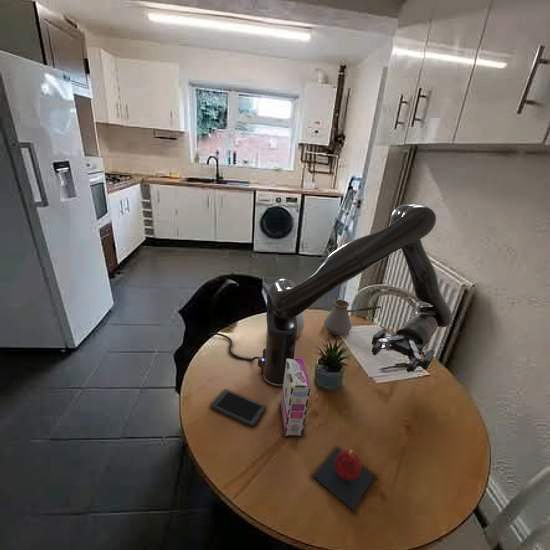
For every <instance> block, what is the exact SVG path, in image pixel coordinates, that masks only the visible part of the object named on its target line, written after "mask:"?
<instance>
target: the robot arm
mask: <svg viewBox="0 0 550 550" xmlns="http://www.w3.org/2000/svg"><path fill="white" fill-rule="evenodd" d="M436 222H437V215H436V213H435V211H434V210H433V209H432V208H430V207H428V206H425V205H423V204H415V203H414V204H413V203H406V204H405V203H403V204H401V205H399V206H397V207H396V208H395V209H394V210H393V212H392V213H391V216H390V224H389V225H388V226H387V227H385V228H383V229H381V230H378V231H376V232H373V233H370V234H366V235H364V236H360V237H358V238H356V239H353V240H351V241H349V242H347V243H345V244H343V245H342V246H340V247H339V248H337V249H336V250H334V251H333V252H331V253H329V254H328V256H326V258H325V259H324V261H322V263H321V264H320V266H318V267H317V269H316V270H315V271H314V272H313V273H312V275H310V276H309V277H307V279H305V280H303V281H302V282H300V283H298V284H296V283H294V281H292V280H290V279H286V278H281V279H278V280H276V281H274V282H273V283H272V284H271V285H270V287H269V288H268V293H267V300H266V338H265V339H266V340H265V348H263V349H262V356H253V357H252V358H251V357H250V358H247V357H242V356H239V355H237V354H235V353H233V351H232V346H233V340H232V339H231V338H230V337H229V336H228V335H225V334H223V333H220V332H211V333H209V334H207V336H208V337H211V336H220V337H223V338H225V339H227V340H228V341H229V347H228V353H229V354H230V355H231V356H232V357H234V358H236V359H239V360H242V361H249V362H253V361H255V360H257V367H258V368H260V369H261V372H260V374H261V375H262V377H263V380H264V382H266V383H267V384H268V385H270V386H272V387H283V383H284V375H285V367H286V359H295V354H296V346H297V345H296V344H297V338H298V336H297V329H298V325H297V319H296V316H297V315H299V314H300V313H302V312H303V313H304V312H305V311H306V310H308V309H309V308H310V307H311V306H312V305H314V304H315V303H316V302H317V301H319V300H320V299H322V298H324V297H325V296H326V295H328V294H329V293H331V292H332V291H335V289H337V288H339V287H340V286H342V285H343V284H345V283H347V282H349V281H350V280H353V279H354V278H355V277H357V276H359V275H360V274H362V273H364V272H365V271H366V270H368V269H369V268H371V267H373V266H374V265H376V264H378V263H380V262H381V261H382V260H384V259H385V258H387V257H389V256H390V255H392V254H394V253H395V252H397V251H399V250H401V251H402V255H403V256H404V259H405V262H406V265H407V268H408V272H409V276H410V278H411V279H410V280H411V283H412V288H413V292H414V295H415V298H416V300H418V301H419V302H422V304H418V305H416V306H415V308H414V313H413V317H412V318H411V319H409V320H407V321H406V322H405V323H404V324H402V326H401V327H400V328H399V329H398V330H396V332H394V333H393V334H390V333H387V329H385V328H382V329H380V330H379V331H377V332H376V333H375V334H373V336H372V340H371V345H372V347H371V353H372V355H373V356H377V355H378V354H379V353H380V352H381V351H382V350H386V351H387V352H388V351H394V352H397V353H399V354H401V355H403V356H405V357H407V358H408V360H409V363H408V364H407V366H406V371H405V372H407V373H410V372H412V373H413V372H415V371H416V369H418V368H420V367H421V369H423V370H424V371H425V370H428V369H429V367H430V364H431V363H432V361H433V358H434V355H435V350H434V349H429V350H426V349H424V348H425V347H426V346H427V345H428V344H429V342H430V340H431V339H432V337H433V336H434V334H435V333H436V332H437V330H438V328H447V327H448V326H450V325H451V324H452V321H453V313H452V310H451V308H450V305H449V304H448V302H447V301H446V299H445V298H444V295H443V293H442V292H441V289H440V284H439V278H438V274H437V272H436V270H435V267H434V265H433V263H432V261H431V260H430V257H429V256H428V254H427V252H426V251H425V248H424V245H423V242H422V239H423V238H425V237H427V236H428V235H429V234H430V233H431V232H432V231H433V229H434V227H435V226H436V224H437V223H436ZM421 355H422V356H423V358H422V357H421Z"/></svg>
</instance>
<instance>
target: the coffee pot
mask: <svg viewBox="0 0 550 550" xmlns="http://www.w3.org/2000/svg"><path fill="white" fill-rule="evenodd" d="M333 305H334V306H333V308H332V309H331V310H330V312H329V313H328V314H327V316H326V317H325V319H324V320H323V325H324V326H323V327H324V328H325V330H327V332H329V333H330V334H331V335H334V336H344V335H346V334H348V333H349V332H350V331H351V330H352V322H351V319H350V315H349V313H354V312H365V311H371V310H376V309H379V310H380V312H382V306H380V305H377V306H375V305H374V306H367V307H360V308H355V309H348V308H349V307H350V303H349V302H348V301H346V300H344V299H335V300H333Z"/></svg>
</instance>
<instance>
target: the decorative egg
mask: <svg viewBox="0 0 550 550" xmlns="http://www.w3.org/2000/svg"><path fill="white" fill-rule="evenodd" d="M296 319H297V325H298V329H297V337H299V336H300V335H301V333H302V332H303V330H304V327H305V320H306V319H305V313H304V311H303V312H302V313H300V314H299V315H297V316H296Z"/></svg>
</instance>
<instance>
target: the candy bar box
mask: <svg viewBox="0 0 550 550" xmlns="http://www.w3.org/2000/svg"><path fill="white" fill-rule="evenodd" d="M311 388H312V387H311V383H310V380H309V375H308V373H307V369H306V365H305V360H304V358H294V359H286V367H285V375H284V383H283V386H282V392H281V398H280V399H281V400H280V408H281V409H280V410H281V416H282V424H283V431H284V437H302V436H303V435H304V427H305V422H306V416H307V410H308V404H309V398H310V392H311Z"/></svg>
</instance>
